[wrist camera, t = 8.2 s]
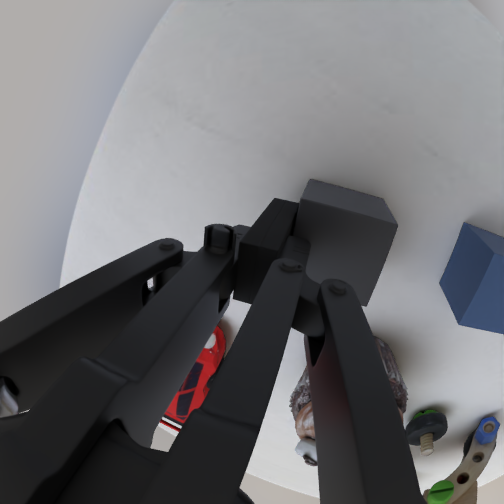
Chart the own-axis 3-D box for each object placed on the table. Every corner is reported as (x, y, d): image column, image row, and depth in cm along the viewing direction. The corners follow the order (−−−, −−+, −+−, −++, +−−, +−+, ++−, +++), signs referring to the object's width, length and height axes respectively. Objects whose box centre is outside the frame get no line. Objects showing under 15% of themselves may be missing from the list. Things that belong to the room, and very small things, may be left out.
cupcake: (424, 351, 21) (440, 449, 12) (358, 406, 26) (350, 490, 17) (339, 305, 21) (329, 416, 12) (280, 372, 26) (252, 462, 17)
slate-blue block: (438, 283, 18) (458, 325, 14) (463, 221, 16) (494, 252, 11) (484, 295, 17) (507, 335, 13) (510, 240, 15) (542, 272, 10)
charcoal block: (294, 247, 20) (280, 284, 16) (309, 178, 18) (300, 198, 13) (362, 265, 19) (366, 307, 15) (383, 198, 17) (398, 225, 13)
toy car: (238, 321, 24) (217, 361, 20) (209, 420, 34) (195, 448, 30) (136, 277, 26) (103, 306, 22) (142, 388, 36) (124, 413, 31)
